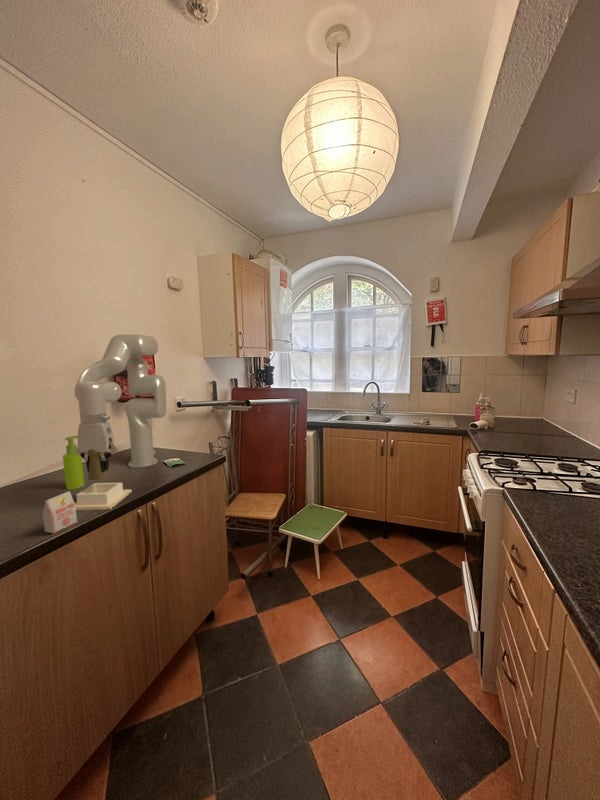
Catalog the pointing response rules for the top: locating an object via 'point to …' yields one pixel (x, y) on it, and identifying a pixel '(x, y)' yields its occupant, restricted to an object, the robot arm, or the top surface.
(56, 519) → the white carton
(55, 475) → the top surface
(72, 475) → the soap dispenser
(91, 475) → the cork
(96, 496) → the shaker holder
